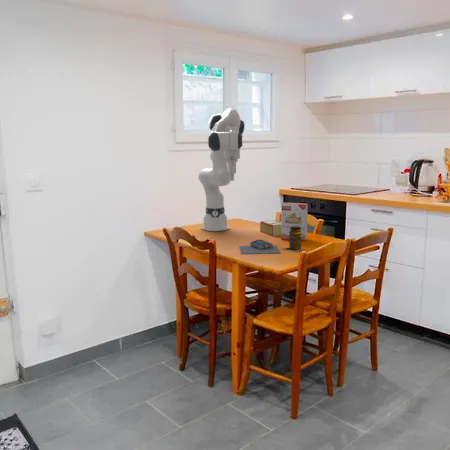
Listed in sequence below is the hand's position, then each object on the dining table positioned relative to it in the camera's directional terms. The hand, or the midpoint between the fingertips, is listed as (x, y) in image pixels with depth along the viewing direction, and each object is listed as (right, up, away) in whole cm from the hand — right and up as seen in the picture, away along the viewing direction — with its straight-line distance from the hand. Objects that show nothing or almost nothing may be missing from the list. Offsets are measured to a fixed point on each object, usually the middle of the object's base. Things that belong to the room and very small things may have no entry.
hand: (232, 180), depth 266 cm
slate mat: (+14, -38, -19) cm, 45 cm away
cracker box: (+35, -34, +5) cm, 49 cm away
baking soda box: (+22, -26, +30) cm, 45 cm away
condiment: (+32, -38, -19) cm, 53 cm away
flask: (+13, -35, -10) cm, 38 cm away
